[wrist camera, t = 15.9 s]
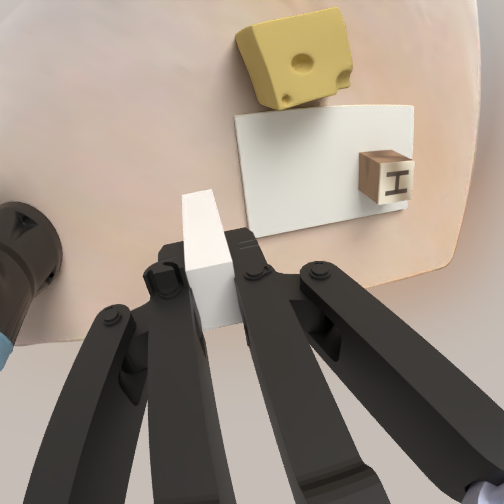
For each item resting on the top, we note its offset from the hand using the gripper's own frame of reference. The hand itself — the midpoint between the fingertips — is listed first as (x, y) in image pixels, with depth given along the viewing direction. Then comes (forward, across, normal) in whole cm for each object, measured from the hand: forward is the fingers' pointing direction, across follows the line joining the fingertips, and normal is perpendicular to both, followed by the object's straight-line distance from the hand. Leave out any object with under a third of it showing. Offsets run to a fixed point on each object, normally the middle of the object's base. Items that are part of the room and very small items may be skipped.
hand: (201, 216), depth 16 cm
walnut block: (+19, +26, -9) cm, 34 cm away
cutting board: (+26, +20, -8) cm, 34 cm away
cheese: (+27, +13, +8) cm, 31 cm away
